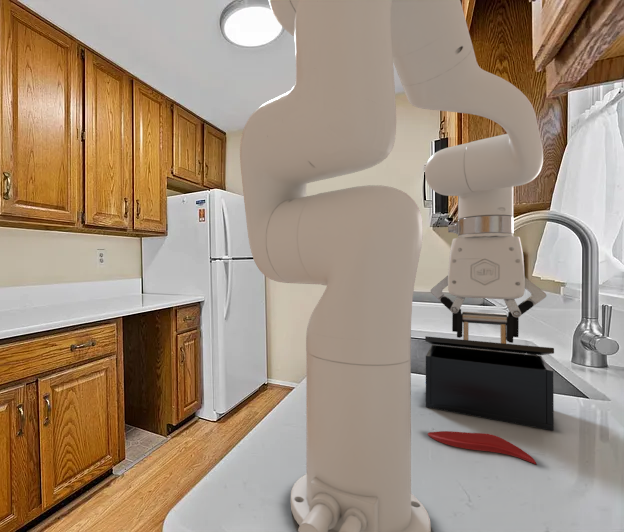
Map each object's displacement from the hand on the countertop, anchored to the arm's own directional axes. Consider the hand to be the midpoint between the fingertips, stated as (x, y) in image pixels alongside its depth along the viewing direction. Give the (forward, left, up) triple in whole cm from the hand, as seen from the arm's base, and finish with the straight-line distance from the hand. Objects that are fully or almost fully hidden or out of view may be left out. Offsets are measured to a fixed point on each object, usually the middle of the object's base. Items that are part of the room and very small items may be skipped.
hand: (483, 337), depth 61 cm
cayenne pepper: (-14, +1, -13) cm, 19 cm away
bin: (+4, 0, -12) cm, 13 cm away
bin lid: (+3, 0, -2) cm, 4 cm away
